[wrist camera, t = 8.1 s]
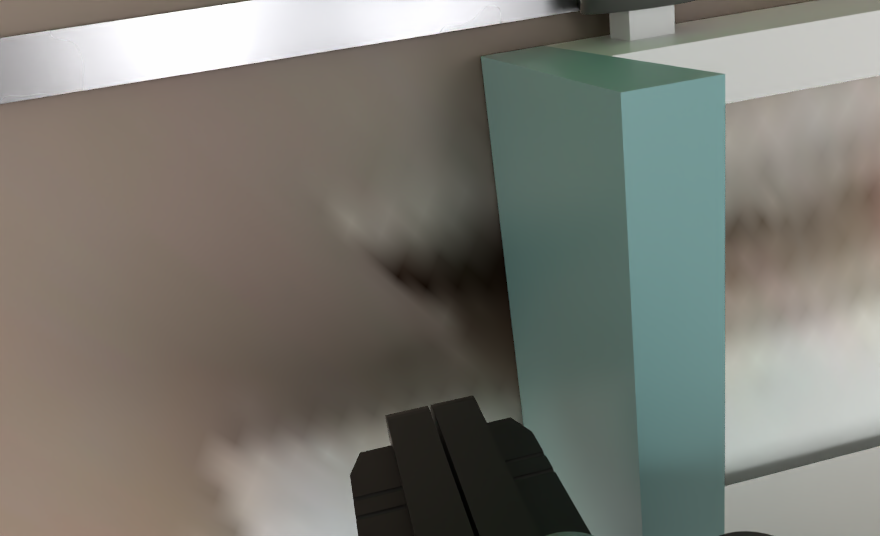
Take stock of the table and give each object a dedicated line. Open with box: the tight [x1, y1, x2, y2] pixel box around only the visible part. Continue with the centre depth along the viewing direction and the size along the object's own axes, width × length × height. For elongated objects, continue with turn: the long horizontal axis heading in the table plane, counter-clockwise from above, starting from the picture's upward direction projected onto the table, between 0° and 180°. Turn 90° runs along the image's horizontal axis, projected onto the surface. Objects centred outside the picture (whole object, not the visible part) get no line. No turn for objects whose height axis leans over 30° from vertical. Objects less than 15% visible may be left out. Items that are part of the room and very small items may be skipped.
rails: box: [0, 0, 581, 104], centre depth 15 cm, size 15×32×1 cm, turn 98°
